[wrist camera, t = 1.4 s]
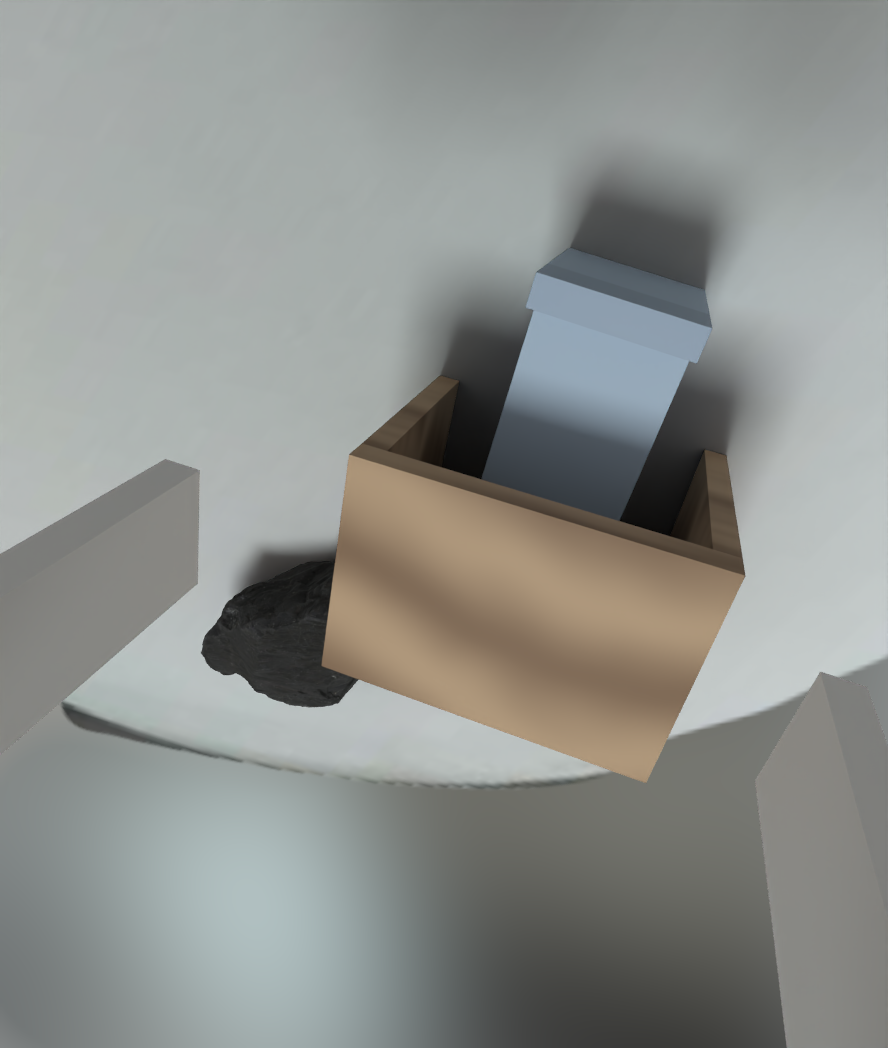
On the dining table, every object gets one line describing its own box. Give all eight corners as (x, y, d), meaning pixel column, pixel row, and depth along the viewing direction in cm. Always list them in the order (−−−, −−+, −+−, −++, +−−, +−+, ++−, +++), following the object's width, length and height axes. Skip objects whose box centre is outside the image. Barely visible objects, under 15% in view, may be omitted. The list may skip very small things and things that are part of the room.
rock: (280, 497, 41) (224, 544, 36) (418, 570, 40) (379, 628, 36) (242, 618, 46) (189, 674, 41) (363, 685, 46) (323, 749, 41)
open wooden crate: (440, 375, 35) (349, 454, 25) (726, 455, 33) (745, 576, 23) (407, 545, 40) (321, 665, 30) (654, 625, 38) (645, 783, 28)
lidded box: (570, 247, 31) (536, 272, 24) (704, 289, 30) (712, 328, 23) (483, 516, 38) (436, 599, 31) (590, 556, 37) (569, 651, 30)
